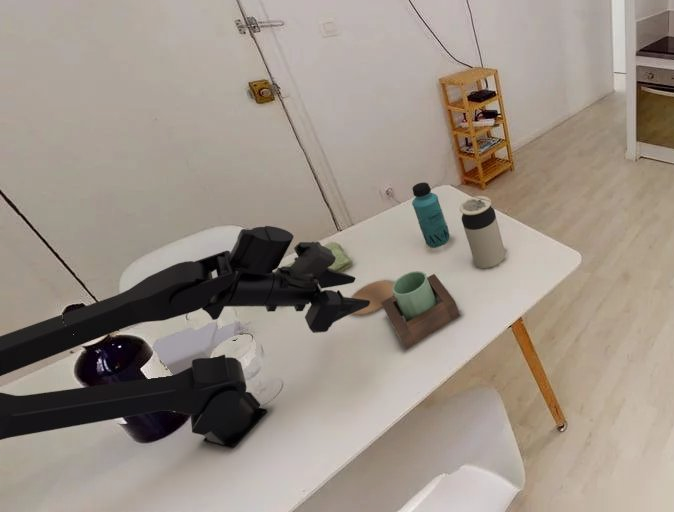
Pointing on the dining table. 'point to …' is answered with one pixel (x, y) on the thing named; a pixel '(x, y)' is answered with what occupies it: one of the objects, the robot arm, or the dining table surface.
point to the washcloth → (341, 258)
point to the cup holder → (422, 315)
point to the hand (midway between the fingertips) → (361, 291)
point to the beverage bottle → (430, 216)
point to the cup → (413, 294)
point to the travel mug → (482, 231)
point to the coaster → (374, 296)
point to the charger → (193, 344)
